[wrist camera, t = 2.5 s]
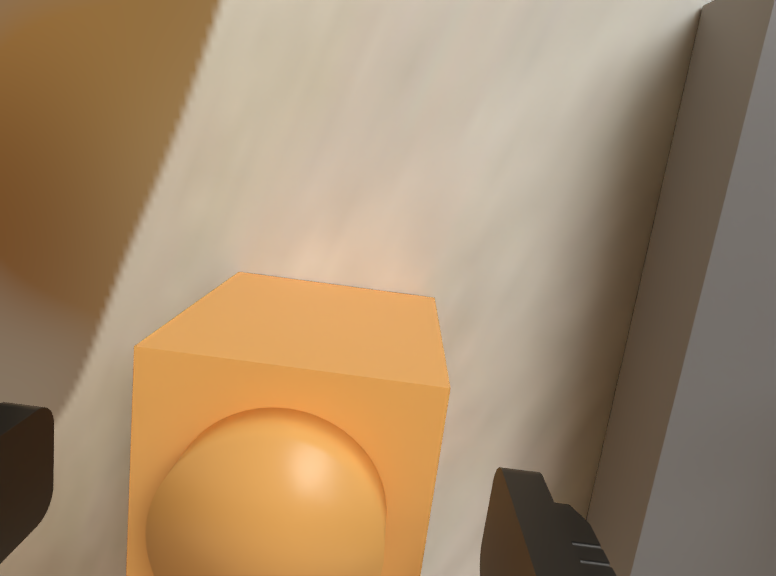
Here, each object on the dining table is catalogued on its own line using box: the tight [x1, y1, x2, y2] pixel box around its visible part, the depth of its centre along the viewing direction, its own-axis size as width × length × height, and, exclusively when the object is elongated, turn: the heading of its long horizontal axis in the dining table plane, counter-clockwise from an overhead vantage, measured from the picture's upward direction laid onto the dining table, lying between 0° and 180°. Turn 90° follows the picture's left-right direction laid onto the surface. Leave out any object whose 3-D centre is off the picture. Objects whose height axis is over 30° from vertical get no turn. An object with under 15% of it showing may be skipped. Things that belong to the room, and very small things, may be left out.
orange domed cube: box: [126, 272, 450, 576], centre depth 12 cm, size 5×5×7 cm
